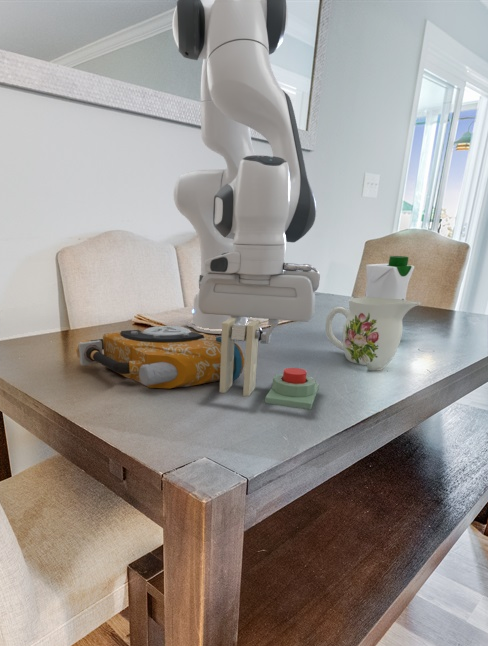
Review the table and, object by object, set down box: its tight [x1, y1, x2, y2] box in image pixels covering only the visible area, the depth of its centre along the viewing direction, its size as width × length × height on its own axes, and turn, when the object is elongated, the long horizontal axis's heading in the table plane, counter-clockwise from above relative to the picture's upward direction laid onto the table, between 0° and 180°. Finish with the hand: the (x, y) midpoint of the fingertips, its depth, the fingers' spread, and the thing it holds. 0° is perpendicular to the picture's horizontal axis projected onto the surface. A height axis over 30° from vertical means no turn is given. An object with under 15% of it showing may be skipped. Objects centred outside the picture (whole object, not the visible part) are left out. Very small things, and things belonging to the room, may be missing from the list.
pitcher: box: [325, 296, 422, 371], centre depth 93 cm, size 11×18×14 cm, turn 46°
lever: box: [231, 324, 264, 343], centre depth 78 cm, size 13×3×3 cm, turn 158°
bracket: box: [219, 318, 261, 397], centre depth 75 cm, size 10×8×13 cm
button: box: [282, 367, 308, 384], centre depth 74 cm, size 4×4×2 cm
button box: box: [264, 373, 320, 410], centre depth 75 cm, size 10×7×4 cm
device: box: [75, 325, 245, 390], centre depth 87 cm, size 23×8×30 cm
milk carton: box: [364, 255, 415, 300], centre depth 112 cm, size 9×9×20 cm
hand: (252, 341), depth 83 cm, fingers closed on lever, 3 cm apart
